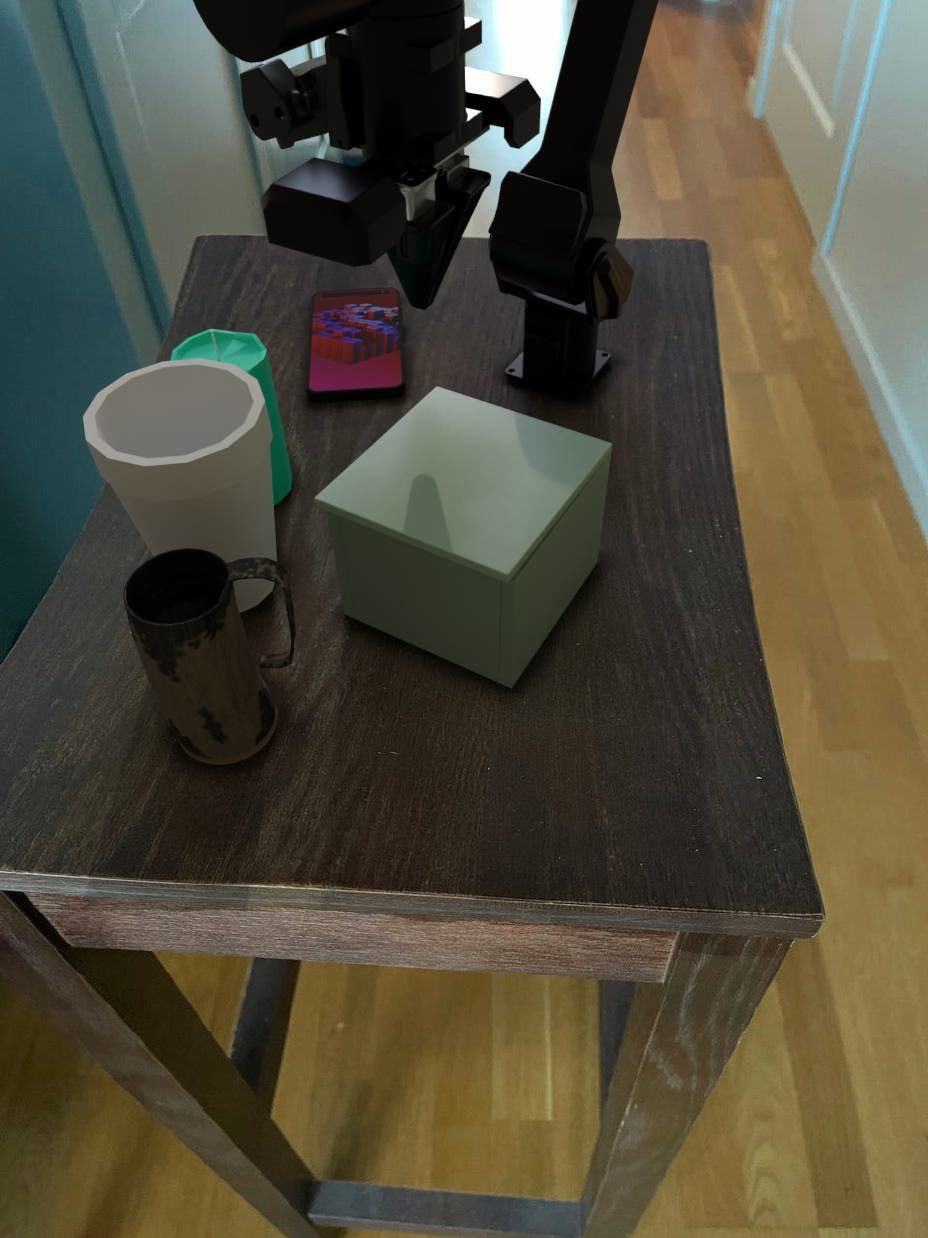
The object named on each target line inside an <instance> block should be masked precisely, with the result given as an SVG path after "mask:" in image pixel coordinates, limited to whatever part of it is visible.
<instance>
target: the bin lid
mask: <svg viewBox="0 0 928 1238" xmlns="http://www.w3.org/2000/svg"><path fill="white" fill-rule="evenodd" d="M612 451H613V443H612V442H610V441H607V440H603V439H600V438H598V437H594V436H591V435H588V434H585V433H581V432H579V431H575V430H573V429H570V428H566V427H563V426H560V425H557V424H554V423H552V422H548V421H545V420H542V419H539V418H536V417H532V416H530V415H527V414H524V413H520V412H517V411H514V410H511V409H508V408H505V407H502V406H499V405H496V404H493V403H491V402H490V403H489V402H487V401H484V400H480V399H478V398H474V397H471V396H468V395H465V394H462V393H459V392H455V391H453V390H450V389H447V388H444V387H441V386H438V385H437V386H435V387H434V388H433V389H431V391H429V392H428V394H426V395H425V396H424V397H423V398H421V400H419V401H418V403H416V404H415V405H414V406H412V408H411V409H410V410H408V412H407V413H406V414H404V415H403V416H402V417H401V418H400V419H399V420H398V421H396V422H395V423H394V424H393V425H392V426H391V427H390V428H389V429H388V430H386V432H385V433H384V434H383V435H381V436H380V437H379V438H378V439H377V440H376V441H375V442H374V443H372V445H370V446H369V447H368V448H367V449H366V450H365V451H364V452H362V454H360V456H358V457H357V458H356V459H355V460H354V461H353V462H351V464H349V465H348V466H347V467H346V468H345V469H344V470H343V471H342V472H341V473H339V475H337V476H336V477H335V478H334V479H333V480H332V481H331V482H330V483H329V484H328V485H327V486H325V487H324V488H323V489H322V490H321V491H320V492H319V493H318V494H316V495H315V496H314V498H313V503H314V507H316V508H318V509H320V510H323V511H325V512H326V511H328V512H330V513H333V514H335V515H338V516H340V517H343V518H345V519H348V520H350V521H353V522H355V523H358V524H360V525H363V526H365V527H368V528H370V529H373V530H375V531H378V532H380V533H383V534H385V535H388V536H390V537H393V538H395V539H398V540H400V541H403V542H405V543H408V544H410V545H413V546H415V547H418V548H420V549H423V550H425V551H428V552H430V553H433V554H435V555H438V556H440V557H443V558H445V559H448V560H450V561H453V562H455V563H458V564H460V565H463V566H465V567H468V568H470V569H473V570H475V571H478V572H480V573H483V574H485V575H487V576H490V577H492V578H495V579H497V580H500V581H502V582H505V583H508V582H509V581H510V580H511V578H512V577H513V576H514V575H515V573H516V572H517V571H518V570H519V568H520V567H521V566H522V564H523V563H524V562H525V561H526V559H527V558H528V557H529V556H530V554H531V553H532V552H533V551H534V549H535V548H536V547H537V545H538V544H539V543H540V542H541V540H542V539H543V538H544V537H545V535H546V534H547V533H548V531H549V530H550V529H551V528H552V526H553V525H554V524H555V523H556V521H557V520H558V519H559V517H560V516H561V515H562V514H563V512H564V511H565V510H566V509H567V507H568V506H569V505H570V503H571V502H572V501H573V500H574V498H575V497H576V496H577V495H578V493H579V492H580V491H581V489H582V488H583V487H584V486H585V484H586V483H587V482H588V481H589V479H590V478H591V477H592V476H593V474H594V473H595V472H596V470H597V469H598V468H599V467H600V465H601V464H602V463H603V462H604V460H605V459H606V458H607V456H608V455H609V454H610V453H611V454H612Z"/></svg>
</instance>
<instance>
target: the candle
mask: <svg viewBox="0 0 928 1238" xmlns="http://www.w3.org/2000/svg"><path fill="white" fill-rule="evenodd" d="M199 358H202V359H207V360H213V361H218V362H223V363H228V364H234V365H236V366H237V367H239V368H240V369H242V370H243V371H245V372H247V373H248V374H250V375H251V376H253V377H254V378H256V379H257V380H258V383H259V385H260V388H261V391H262V394H263V397H264V399H265V403H266V408H267V412H268V417H269V421H270V426H271V430H272V435H273V438H272V440H271V443H270V456H271V472H272V488H273V504H274V506H276V505H278V504H280V503H281V501H282V500H284V498H285V497H287V495H288V494H290V492H291V491H292V485H293V484H292V483H293V471H292V466H291V462H290V461H291V460H290V455H289V452H288V451H289V450H288V446H287V442H286V437H285V432H284V427H283V422H282V417H281V413H280V407H279V403H278V398H277V397H278V396H277V393H276V388H275V383H274V378H273V374H272V368H271V362H270V360H269V359H270V358H269V353H268V349H267V348H266V347H265V345H264V344H263V342H262V341H261V339H260V338H259V337H258V335H257V334H256V333H250V332H241V331H232V330H231V331H230V330H225V329H217V328H209V329H205V330H204V331H201V332H199V333H197V334H194V335H191V336H189V337H187V338H186V339H185V340H183V341H182V342H181V343H180V344H178V346H176V347H175V348H174V349H172V350H171V356H170V360H169V361H175V360H187V359H199Z"/></svg>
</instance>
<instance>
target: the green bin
mask: <svg viewBox="0 0 928 1238" xmlns="http://www.w3.org/2000/svg"><path fill="white" fill-rule="evenodd" d="M611 458H612V452H611V453H610V454H609V455H608V456H607V458H606V459H605V460H604V462H603V463H602V464H601V465H600V467H599V468H598V469H597V470H596V472H595V473H594V474H593V476H592V477H591V478H590V479H589V481H588V482H587V483H586V484H585V486H584V487H583V488H582V489H581V491H580V492H579V493H578V495H577V496H576V497H575V498H574V500H573V501H572V502H571V503H570V505H569V506H568V507H567V509H566V510H565V511H564V512H563V514H562V515H561V516H560V517H559V519H558V520H557V521H556V523H555V524H554V525H553V526H552V528H551V529H550V530H549V531H548V533H547V534H546V535H545V537H544V538H543V539H542V540H541V542H540V543H539V544H538V545H537V547H536V548H535V549H534V551H533V552H532V553H531V554H530V556H529V557H528V558H527V559H526V561H525V562H524V563H523V564H522V566H521V567H520V568H519V570H518V571H517V572H516V573H515V575H514V576H513V577H512V578H511V580H510V581H509V582H508V583H505V582H502V581H500V580H497V579H495V578H492V577H490V576H487V575H485V574H483V573H480V572H478V571H475V570H473V569H470V568H468V567H465V566H463V565H460V564H458V563H455V562H453V561H450V560H448V559H445V558H443V557H440V556H438V555H435V554H433V553H430V552H428V551H425V550H423V549H420V548H418V547H415V546H413V545H410V544H408V543H405V542H403V541H400V540H398V539H395V538H393V537H390V536H388V535H385V534H383V533H380V532H378V531H375V530H373V529H370V528H368V527H365V526H363V525H360V524H358V523H355V522H353V521H350V520H348V519H345V518H343V517H340V516H338V515H335V514H333V513H330V512H328V511H325V512H326V517H327V523H328V529H329V534H330V539H331V545H332V551H333V556H334V563H335V569H336V573H337V574H336V575H337V580H338V584H339V585H338V586H339V591H340V596H341V603H342V609H343V614H344V615H345V616H347V617H349V618H352V619H353V620H356V621H358V622H361V623H363V624H365V625H368V626H370V627H372V628H375V629H377V630H379V631H381V632H384V633H386V634H388V635H390V636H392V637H394V638H396V639H399V640H401V641H404V642H406V643H408V644H411V645H412V646H415V647H417V648H418V649H421V650H423V651H426V652H428V653H431V654H432V655H435V656H437V657H439V658H441V659H444V660H447V661H448V662H451V663H453V664H454V665H457V666H459V667H461V668H464V669H467V670H469V671H471V672H473V673H475V674H478V675H479V676H482V677H484V678H487V679H489V680H491V681H493V682H495V683H498V684H501V685H502V686H505V687H507V688H509V689H513V688H514V686H515V685H516V683H517V682H518V681H519V679H520V677H521V676H522V674H523V673H524V671H525V670H526V668H527V667H528V666H529V664H530V663H531V661H532V660H533V658H534V656H535V655H536V654H537V652H538V651H539V649H540V648H541V646H542V644H543V643H544V642H545V641H546V639H547V638H548V636H549V634H550V633H551V631H552V630H553V628H554V627H555V626H556V624H557V622H558V621H559V620H560V618H561V617H562V615H563V614H564V612H565V611H566V609H568V607H569V605H570V603H571V602H572V601H573V599H574V598H575V596H576V595H577V593H578V592H579V590H580V589H581V587H582V586H583V584H584V583H585V582H586V580H587V578H588V577H589V576H590V575H591V573H592V572H593V569H594V568H595V567H596V565H597V564H598V561H599V552H600V547H601V537H602V529H603V523H604V522H603V521H604V515H605V514H604V513H605V506H606V499H607V498H606V497H607V492H608V491H607V490H608V483H609V482H608V481H609V475H610V474H609V473H610V466H611Z"/></svg>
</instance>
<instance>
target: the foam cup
mask: <svg viewBox="0 0 928 1238" xmlns="http://www.w3.org/2000/svg"><path fill="white" fill-rule="evenodd" d="M82 422H83V428H84V436H85V441H86V445H87V446H88V449H89V451H90V454H91V456H92V458H93V461H94V464H95V466H96V468H97V471H98V473H99V475H100V477H101V478H102V479H104V481H106V482H107V483H108V484H109V485H110V487H111V488H112V490H113V491H114V493H115V495H116V497H117V498H118V501H119V502H120V504H121V505H122V507H123V508H124V510H125V512H126V513H127V515H128V517H129V519H130V520H131V522H132V523H133V525H134V527H135V528H136V530H137V531H138V533H139V535H140V537H141V538H142V540H143V542H144V543H145V545H146V547H147V549H148V550H149V551H150V553H151V555H152V558H153V557H155V556H156V555H158V554H161V553H164V552H168V551H171V550H176V549H184V548H193V549H202V550H206V551H210V552H212V553H214V554H216V555H218V556H220V557H221V558H222V559H223V560H224V561H225V562H226V563H229V562H233V561H236V560H239V559H243V558H253V557H256V558H268V559H271V560H274V561H277V562H278V555H277V554H278V553H277V552H278V551H277V538H276V523H275V508H274V507H275V505H274V504H273V488H272V472H271V456H270V443H271V440H272V438H273V435H272V430H271V426H270V421H269V417H268V412H267V408H266V403H265V399H264V397H263V394H262V391H261V388H260V385H259V383H258V380H257V379H256V378H254V377H253V376H251V375H250V374H248V373H247V372H245V371H243V370H242V369H240V368H239V367H237V366H236V365H234V364H228V363H223V362H218V361H213V360H207V359H202V358H199V359H187V360H175V361H170V360H164V361H160V362H157V363H154V364H151V365H148V366H145V367H142V368H139V369H136V370H133V371H130V372H126V373H125V374H124V375H122V376H120V377H119V378H118V379H116V380H115V381H113V382H112V383H110V384H109V385H107V386H105V388H103V389H102V390H100V391H99V392H97V393H96V395H95V396H94V398H93V400H92V401H91V403H90V404H89V406H88V408H87V409H86V411H85V412H84V414H83V415H82ZM233 584H234V590H235V596H236V603H237V606H238V610H239V613H240V614H241V613H243V612H246V611H248V610H250V609H252V608H255V607H256V606H258V605H259V604H261V602H263V600H265V599H266V598H267V597H268V596H269V595H270V594H271V593H272V592H273V590H274V587H275V585H276V584H275V583H274V582H272V581H269V580H265V579H242V580H237V581H234V582H233Z"/></svg>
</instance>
